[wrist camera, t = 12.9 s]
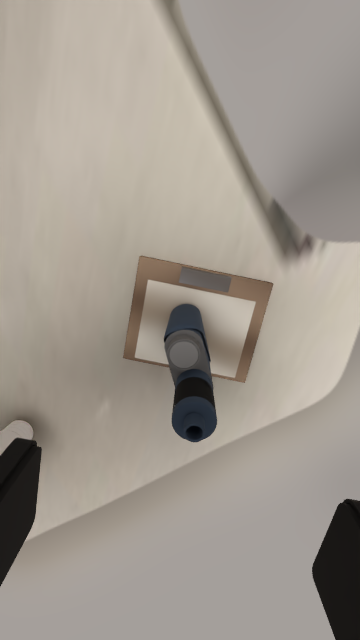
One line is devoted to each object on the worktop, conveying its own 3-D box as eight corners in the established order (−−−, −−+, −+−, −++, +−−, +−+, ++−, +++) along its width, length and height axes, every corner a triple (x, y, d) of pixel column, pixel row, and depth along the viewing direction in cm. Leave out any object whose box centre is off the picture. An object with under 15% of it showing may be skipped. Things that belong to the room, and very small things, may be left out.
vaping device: (182, 362, 27) (174, 459, 15) (167, 305, 26) (146, 364, 14) (211, 356, 27) (225, 449, 15) (197, 298, 25) (202, 352, 14)
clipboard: (243, 379, 28) (246, 386, 27) (124, 355, 28) (121, 361, 26) (271, 282, 26) (275, 285, 24) (140, 255, 25) (137, 256, 24)
